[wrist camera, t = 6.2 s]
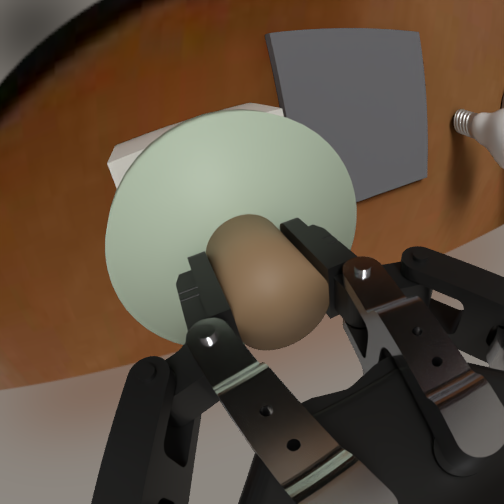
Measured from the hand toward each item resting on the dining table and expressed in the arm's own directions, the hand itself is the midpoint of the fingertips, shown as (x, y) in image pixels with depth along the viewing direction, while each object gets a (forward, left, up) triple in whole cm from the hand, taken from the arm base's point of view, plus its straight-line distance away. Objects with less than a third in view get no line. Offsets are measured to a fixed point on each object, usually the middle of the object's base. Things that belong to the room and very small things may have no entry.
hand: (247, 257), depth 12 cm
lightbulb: (-27, 0, -10) cm, 28 cm away
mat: (-14, -2, -10) cm, 17 cm away
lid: (0, 0, -2) cm, 2 cm away
